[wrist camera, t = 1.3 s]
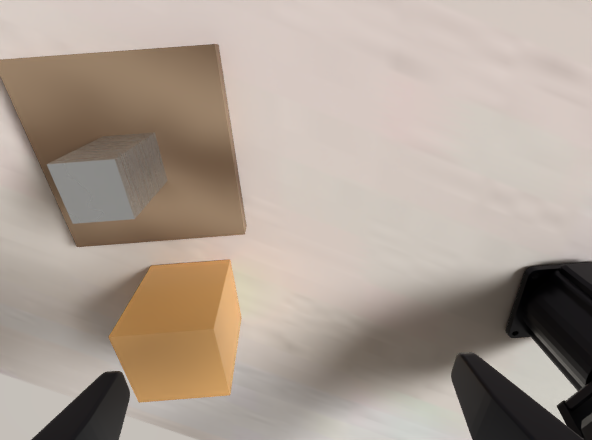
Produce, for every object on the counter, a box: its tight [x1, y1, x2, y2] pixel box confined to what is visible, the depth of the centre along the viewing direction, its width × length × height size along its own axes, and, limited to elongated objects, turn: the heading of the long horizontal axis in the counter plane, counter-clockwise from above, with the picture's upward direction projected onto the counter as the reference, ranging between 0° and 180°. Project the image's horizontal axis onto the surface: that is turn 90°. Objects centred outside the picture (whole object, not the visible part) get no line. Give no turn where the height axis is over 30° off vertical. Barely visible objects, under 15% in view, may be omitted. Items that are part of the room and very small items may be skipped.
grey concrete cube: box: [47, 133, 167, 224], centre depth 15 cm, size 3×3×4 cm
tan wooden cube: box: [109, 260, 241, 402], centre depth 20 cm, size 5×5×6 cm
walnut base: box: [0, 44, 246, 247], centre depth 17 cm, size 10×10×1 cm
